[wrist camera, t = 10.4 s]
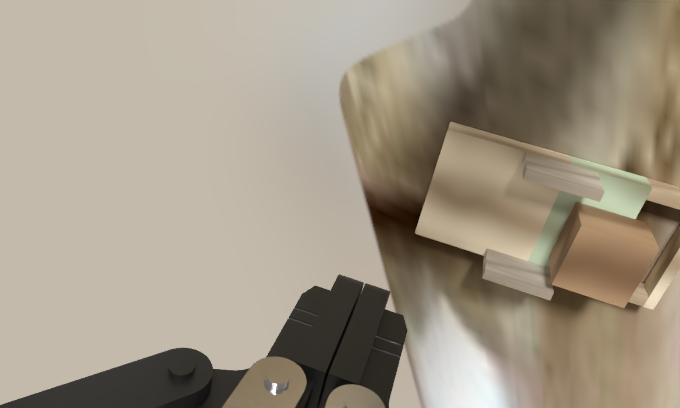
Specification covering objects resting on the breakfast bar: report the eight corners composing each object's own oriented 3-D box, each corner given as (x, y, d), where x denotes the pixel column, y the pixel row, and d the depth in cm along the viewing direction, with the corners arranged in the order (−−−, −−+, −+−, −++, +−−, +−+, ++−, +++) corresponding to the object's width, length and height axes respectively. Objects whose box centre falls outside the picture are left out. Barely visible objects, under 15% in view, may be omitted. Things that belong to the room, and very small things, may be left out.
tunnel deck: (450, 121, 45) (442, 144, 40) (709, 195, 42) (734, 230, 37) (418, 222, 50) (408, 254, 45) (647, 295, 47) (662, 337, 42)
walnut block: (576, 201, 43) (581, 225, 40) (647, 223, 42) (659, 249, 39) (548, 257, 46) (551, 284, 42) (615, 278, 45) (624, 308, 42)
